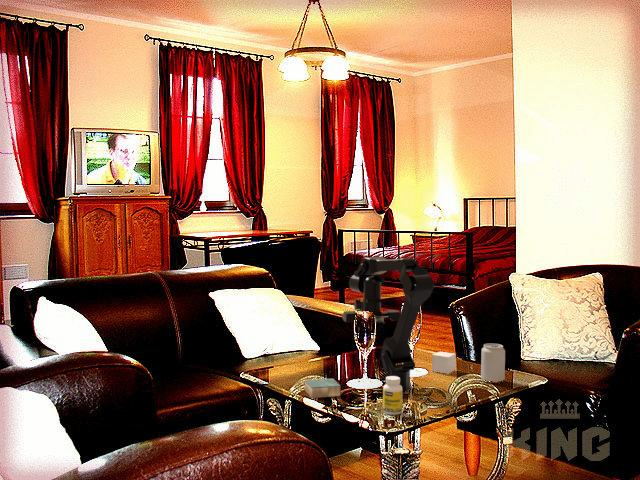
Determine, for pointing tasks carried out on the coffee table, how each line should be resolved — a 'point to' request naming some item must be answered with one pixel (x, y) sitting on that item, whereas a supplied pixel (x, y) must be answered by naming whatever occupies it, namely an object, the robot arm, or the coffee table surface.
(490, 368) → the can
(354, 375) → the coffee table surface
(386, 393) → the supplement bottle
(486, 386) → the coffee table surface
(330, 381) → the tile
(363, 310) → the robot arm
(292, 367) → the coffee table surface
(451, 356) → the white cube
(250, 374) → the coffee table surface
